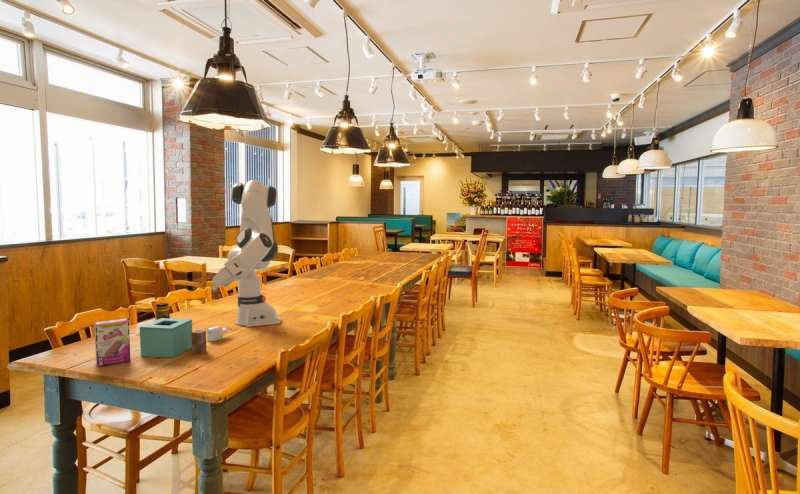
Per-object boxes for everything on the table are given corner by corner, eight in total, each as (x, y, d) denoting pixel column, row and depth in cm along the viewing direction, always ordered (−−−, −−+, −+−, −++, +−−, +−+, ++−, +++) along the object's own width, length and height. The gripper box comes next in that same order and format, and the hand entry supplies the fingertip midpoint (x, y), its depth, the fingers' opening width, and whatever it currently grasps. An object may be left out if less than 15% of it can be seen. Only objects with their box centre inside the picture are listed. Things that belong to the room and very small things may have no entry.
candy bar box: (97, 367, 173) (94, 325, 171) (95, 363, 177) (93, 322, 175) (131, 361, 180) (129, 320, 178) (129, 358, 184) (127, 317, 182)
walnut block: (206, 351, 193) (205, 330, 192) (201, 354, 189) (200, 333, 188) (197, 350, 193) (196, 329, 192) (192, 354, 189) (191, 332, 188)
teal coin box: (192, 346, 198) (191, 319, 197) (173, 357, 185) (171, 328, 183) (162, 345, 200) (161, 318, 199) (140, 355, 186) (139, 326, 185)
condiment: (171, 327, 227) (170, 304, 226) (152, 330, 223) (151, 306, 221) (169, 324, 233) (168, 301, 232) (151, 326, 229) (149, 303, 227)
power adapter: (226, 334, 217) (226, 322, 216) (233, 336, 214) (233, 323, 214) (206, 340, 207) (205, 328, 207) (213, 342, 205) (213, 329, 204)
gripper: (247, 257, 202) (226, 278, 204) (223, 262, 182) (200, 285, 184) (256, 267, 202) (235, 289, 204) (234, 273, 182) (211, 297, 184)
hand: (218, 287), depth 194 cm, fingers open, 8 cm apart
